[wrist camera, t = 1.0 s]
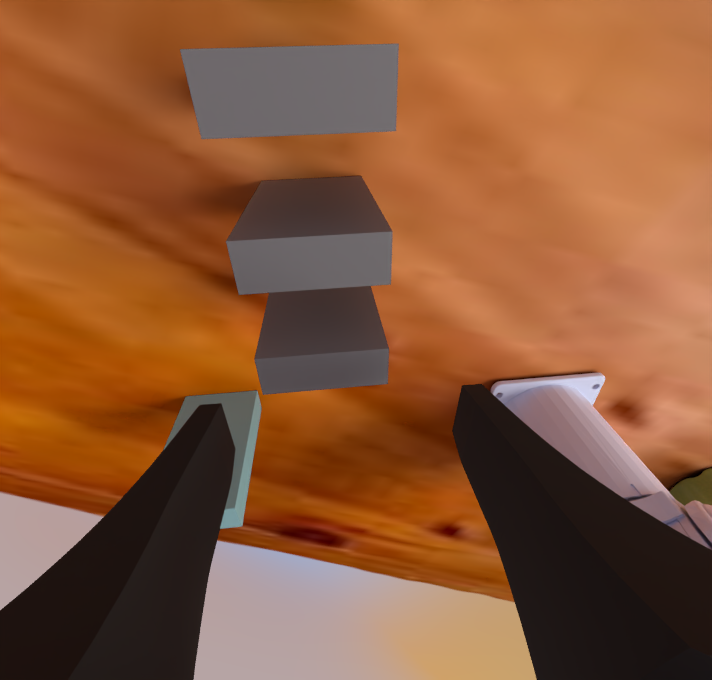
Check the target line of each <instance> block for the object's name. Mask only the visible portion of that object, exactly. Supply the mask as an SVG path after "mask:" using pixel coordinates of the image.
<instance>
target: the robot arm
mask: <svg viewBox="0 0 712 680" xmlns="http://www.w3.org/2000/svg"><path fill="white" fill-rule="evenodd" d="M604 381H605V376H604V375H603V374H601V373H588V374H576V375H565V376H554V377H542V378H531V379H520V380H508V381H499V382H496V383H494V384H493V386H492V388H491V392H490V391H489V390H488V389H487V388H485V387H484V386H483V385H482V384H476V385H462V388H461V393H460V398H459V402H458V407H457V412H456V416H455V421H454V425H453V430H452V431H453V435H454V439H455V442H456V446H457V449H458V453H459V456H460V459H461V462H462V465H463V467H464V470H465V472H466V474H467V477H468V479H469V481H470V484H471V486H472V488H473V491H474V493H475V495H476V498H477V500H478V502H479V505H480V507H481V509H482V512H483V514H484V516H485V519H486V521H487V523H488V525H489V528H490V530H491V532H492V535H493V538H494V540H495V543H496V545H497V548H498V551H499V554H500V557H501V560H502V563H503V566H504V569H505V572H506V575H507V578H508V582H509V585H510V588H511V591H512V594H513V598H514V601H515V604H516V608H517V611H518V613H519V617H520V621H521V624H522V627H523V631H524V635H525V638H526V642H527V645H528V649H529V652H530V656H531V660H532V663H533V667H534V670H535V674H536V678H537V680H712V505H708V504H702V503H701V502H699V501H696V500H694V501H691V502H690V503H688V504H686V505H685V506H684V505H683V504H681V503H680V502H679V501H677V500H676V499H675V498H674V497H673V496H672V495H671V494H670V493H669V491H668V490H667V489H666V488H665V487H664V486H663V485H662V484H661V482H660V481H659V480H658V479H657V478H656V477H655V476H654V475H653V473H652V472H651V471H650V470H649V469H648V468H647V467H646V466H645V464H644V463H643V462H642V461H641V460H640V459H639V458H638V457H637V455H636V454H635V453H634V452H633V451H632V450H631V449H630V448H629V446H628V445H627V444H626V443H625V442H624V441H623V440H622V438H621V437H620V436H619V435H618V434H617V433H616V432H615V431H614V429H613V428H612V427H611V426H610V425H609V424H608V423H607V422H606V420H605V419H604V418H603V417H602V416H601V415H600V414H599V413H598V411H597V410H596V409H595V408H594V407H593V404H594V402H595V400H596V397H597V395H598V393H599V391H600V389H601V387H602V385H603V383H604ZM498 393H499V394H498ZM235 450H236V449H235V445H234V442H233V439H232V436H231V433H230V429H229V426H228V423H227V420H226V416H225V413H224V410H223V407H222V404H221V403H217V404H203V405H199V406H198V407H197V409H196V410H195V411H194V412H193V414H192V415H191V416H190V417H189V419H188V420H187V421H186V423H185V424H184V425H183V426H182V428H181V429H180V430H179V432H178V433H177V434H176V435H175V437H174V438H173V439H172V440H171V442H170V443H169V444H168V445H167V447H166V448H165V449H164V450H163V451H162V453H161V454H160V455H159V456H158V457H157V459H156V460H155V461H154V462H153V463H152V465H151V466H150V467H149V468H148V469H147V471H146V472H145V473H144V474H143V475H142V476H141V477H140V479H139V480H138V481H137V482H136V483H135V484H134V485H133V486H132V487H131V489H130V490H129V491H128V492H127V493H126V494H125V495H124V496H123V497H122V499H121V500H120V501H119V502H118V503H117V504H116V505H115V506H114V507H113V508H112V509H111V510H110V511H109V512H108V513H107V514H106V515H105V516H104V517H103V518H102V519H101V521H100V522H98V524H97V525H95V526H94V527H93V528H92V529H91V530H90V531H89V532H88V533H87V534H86V535H85V536H84V537H83V538H82V539H81V540H80V541H79V542H78V543H77V544H76V545H75V546H74V547H73V548H71V549H70V550H69V551H68V552H67V553H66V554H65V555H64V556H63V557H62V558H61V559H59V560H58V561H57V562H56V563H55V564H54V565H53V566H52V567H51V568H49V569H48V570H47V571H46V572H45V573H44V574H43V575H42V576H40V577H39V578H38V579H37V580H36V581H35V582H34V583H32V584H31V585H30V586H29V587H28V588H27V589H26V590H25V591H23V592H22V593H21V594H20V595H18V596H17V597H16V598H15V599H14V600H12V601H11V602H10V603H9V604H8V605H6V606H5V607H4V608H3V609H2V610H0V680H193V679H194V670H195V661H196V655H197V648H198V641H199V634H200V627H201V620H202V613H203V607H204V601H205V594H206V588H207V582H208V576H209V572H210V567H211V562H212V558H213V554H214V550H215V546H216V542H217V538H218V535H219V531H220V527H221V523H222V519H223V515H224V511H225V507H226V503H227V499H228V494H229V490H230V486H231V482H232V474H233V467H234V458H235Z"/></svg>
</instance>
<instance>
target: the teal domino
mask: <svg viewBox="0 0 712 680" xmlns="http://www.w3.org/2000/svg"><path fill="white" fill-rule="evenodd" d="M217 403H221V404H222V407H223V410H224V413H225V416H226V420H227V423H228V426H229V429H230V433H231V436H232V439H233V442H234V445H235V449H236V450H235V458H234V467H233V474H232V482H231V486H230V490H229V494H228V499H227V503H226V507H225V511H224V515H223V519H222V523H221V527H220V529H222V528H231V527H241V526H242V524H243V518H244V512H245V506H246V500H247V494H248V488H249V482H250V476H251V469H252V463H253V457H254V451H255V445H256V439H257V433H258V427H259V421H260V415H261V409H262V408H261V404H260V400H259V396H258V392H257V390H256V391H245V392H233V393H221V394H210V395H198V396H186V397H185V400H184V402H183V404H182V407H181V409H180V412H179V414H178V416H177V419H176V421H175V423H174V426H173V428H172V431H171V433H170V435H169V438H168V440H167V443H166V445H165V447H164V449H165V448H166V447H167V445H168V444H169V443H170V442H171V440H172V439H173V438H174V437H175V435H176V434H177V433H178V432H179V430H180V429H181V428H182V426H183V425H184V424H185V423H186V421H187V420H188V419H189V417H190V416H191V415H192V414H193V412H194V411H195V410H196V409H197V407H198V406H199V405H203V404H217Z"/></svg>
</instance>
